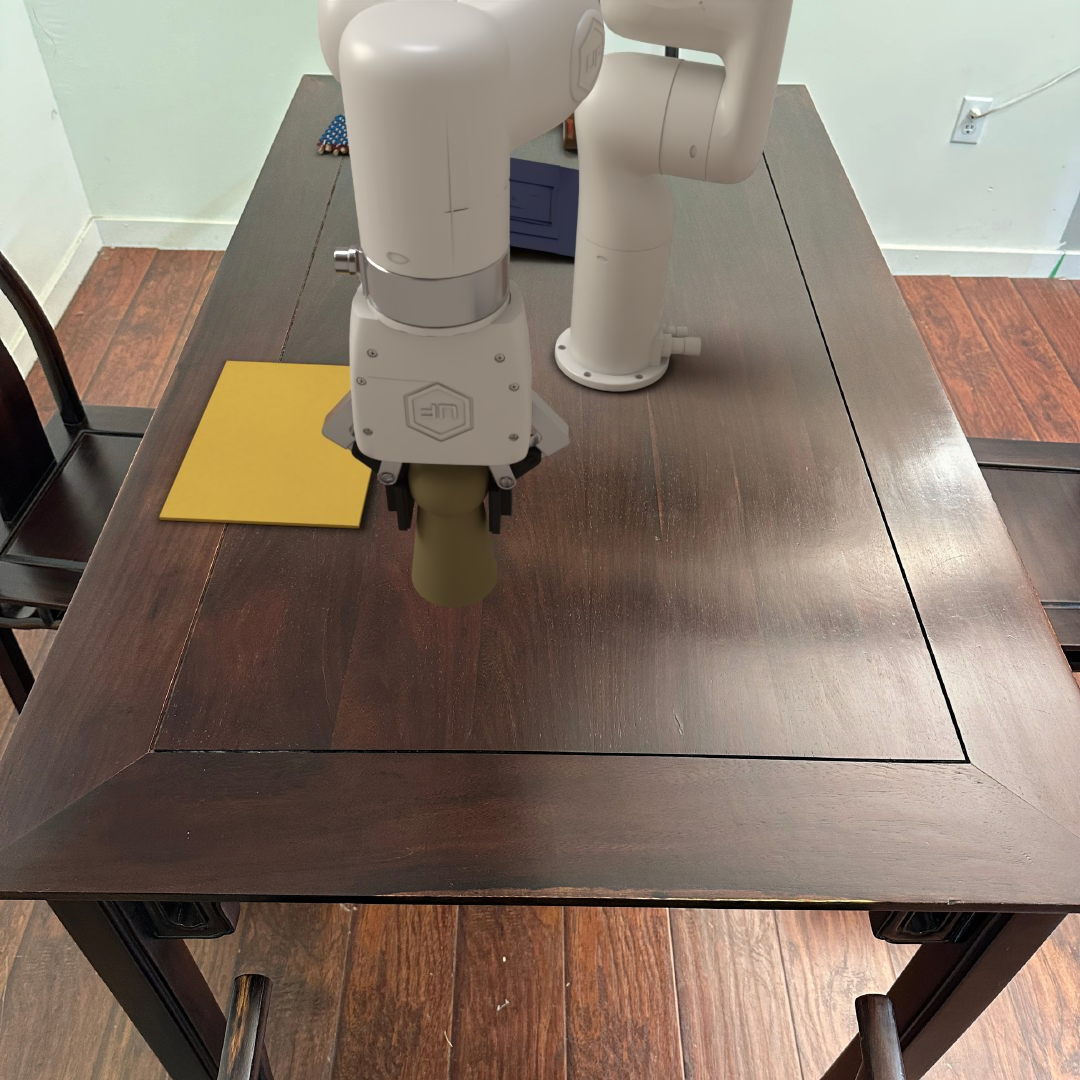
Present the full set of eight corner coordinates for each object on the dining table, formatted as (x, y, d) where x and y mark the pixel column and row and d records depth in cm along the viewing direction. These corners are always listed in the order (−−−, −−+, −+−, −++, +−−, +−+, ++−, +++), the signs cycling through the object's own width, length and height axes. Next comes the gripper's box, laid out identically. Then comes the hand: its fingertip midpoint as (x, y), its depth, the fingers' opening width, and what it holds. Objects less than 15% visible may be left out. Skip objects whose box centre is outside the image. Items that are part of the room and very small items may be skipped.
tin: (581, 159, 141) (584, 100, 135) (559, 158, 141) (562, 100, 135) (579, 117, 152) (582, 61, 146) (559, 116, 152) (562, 60, 146)
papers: (392, 158, 137) (393, 133, 134) (600, 192, 139) (605, 168, 136) (364, 244, 120) (365, 217, 117) (602, 281, 122) (608, 255, 120)
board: (394, 370, 104) (394, 367, 104) (359, 528, 87) (358, 525, 87) (227, 363, 104) (226, 360, 104) (159, 520, 87) (158, 517, 87)
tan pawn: (486, 614, 65) (484, 497, 57) (400, 599, 66) (385, 482, 58) (506, 550, 69) (506, 432, 61) (425, 536, 70) (414, 418, 62)
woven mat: (335, 124, 147) (334, 111, 145) (404, 131, 146) (403, 117, 145) (315, 154, 140) (313, 140, 138) (386, 161, 139) (385, 147, 137)
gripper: (256, 307, 47) (310, 554, 61) (603, 320, 47) (581, 564, 61) (287, 229, 53) (331, 473, 66) (600, 240, 53) (581, 482, 66)
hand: (451, 515), depth 63 cm, fingers closed on tan pawn, 5 cm apart
